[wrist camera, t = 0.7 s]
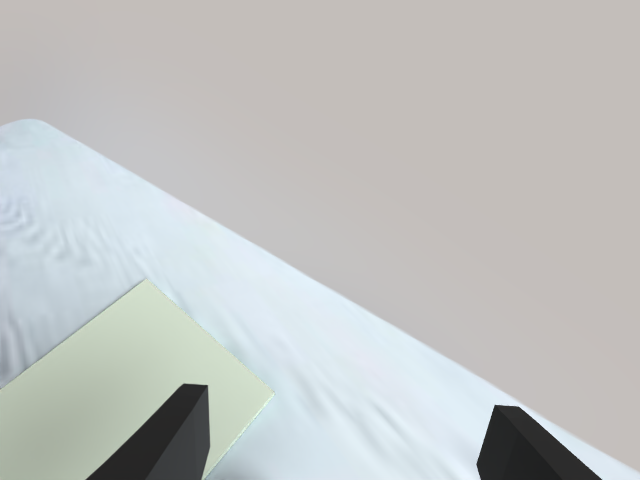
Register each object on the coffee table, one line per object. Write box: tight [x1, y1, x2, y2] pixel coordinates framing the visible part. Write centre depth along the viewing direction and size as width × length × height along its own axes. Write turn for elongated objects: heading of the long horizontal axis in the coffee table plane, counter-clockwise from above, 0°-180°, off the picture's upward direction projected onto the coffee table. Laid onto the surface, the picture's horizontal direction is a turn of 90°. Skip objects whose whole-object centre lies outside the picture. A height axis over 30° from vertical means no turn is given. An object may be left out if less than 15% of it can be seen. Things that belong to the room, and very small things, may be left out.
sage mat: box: [0, 278, 275, 480], centre depth 23 cm, size 14×14×1 cm
